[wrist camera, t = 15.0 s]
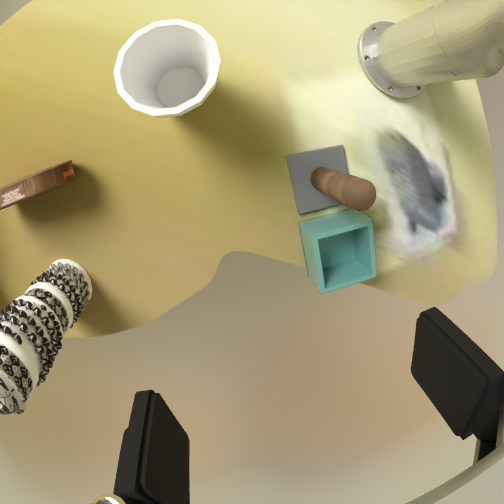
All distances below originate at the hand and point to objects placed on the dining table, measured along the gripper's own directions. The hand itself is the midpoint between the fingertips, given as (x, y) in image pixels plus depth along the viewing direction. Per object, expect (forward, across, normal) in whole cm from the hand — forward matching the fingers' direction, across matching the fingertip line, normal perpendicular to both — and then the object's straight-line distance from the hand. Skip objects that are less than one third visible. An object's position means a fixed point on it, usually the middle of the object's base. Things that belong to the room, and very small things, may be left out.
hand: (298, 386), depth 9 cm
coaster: (+32, -12, 0) cm, 34 cm away
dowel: (+32, -12, 0) cm, 34 cm away
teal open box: (+32, -12, +10) cm, 36 cm away
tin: (+33, +26, -11) cm, 43 cm away
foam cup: (+32, +3, -16) cm, 36 cm away
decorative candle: (+32, +28, +5) cm, 43 cm away
